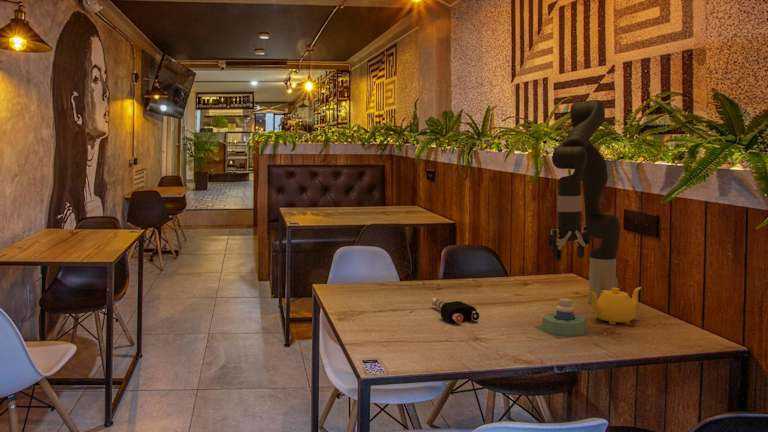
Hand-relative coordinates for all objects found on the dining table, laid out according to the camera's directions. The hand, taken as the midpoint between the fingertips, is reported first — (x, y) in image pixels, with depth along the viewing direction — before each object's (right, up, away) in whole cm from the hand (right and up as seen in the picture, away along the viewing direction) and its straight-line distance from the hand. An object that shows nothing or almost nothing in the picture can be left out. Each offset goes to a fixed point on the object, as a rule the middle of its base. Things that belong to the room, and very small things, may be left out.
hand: (569, 259), depth 206 cm
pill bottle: (-2, -22, -3) cm, 23 cm away
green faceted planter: (-3, -22, -3) cm, 23 cm away
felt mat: (-3, -23, -3) cm, 23 cm away
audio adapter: (-37, -21, +17) cm, 46 cm away
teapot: (+17, -22, +8) cm, 28 cm away
